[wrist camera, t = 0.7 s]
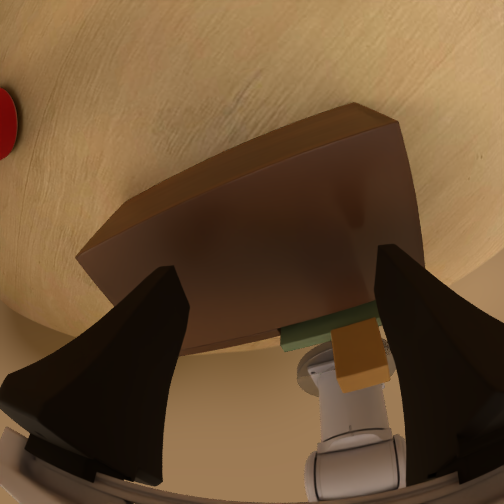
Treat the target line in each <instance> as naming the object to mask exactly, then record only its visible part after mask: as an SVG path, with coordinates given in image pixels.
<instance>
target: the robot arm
mask: <svg viewBox="0 0 504 504" xmlns="http://www.w3.org/2000/svg"><path fill="white" fill-rule="evenodd" d="M374 295H375V300H376V304H377V309H378V313H379V317H380V320H381V323H382V326H383V329H384V332H385V335H386V338H387V341H388V344H389V347H390V350H391V353H392V356H393V359H394V362H395V366H396V369H397V373H398V378H399V384H400V390H401V396H402V404H403V412H404V422H405V436H406V442H405V439H404V438H403V437H401V436H400V435H399V434H396V435H394V436H393V438H392V431H391V428H389V423H388V417H387V411H386V406H385V401H384V395H383V390H382V389H384V387H385V386H384V383H381V384H378V385H374V386H371V387H367V388H363V389H360V390H356V391H352V392H348V393H343V392H342V390H341V388H340V386H339V384H338V381H337V379H336V372H335V363H334V360H332V361H328V362H324V363H320V364H316V365H312V366H309V367H308V368H307V370H308V373H309V374H310V376H311V378H312V379H313V381H314V383H315V384H316V386H317V388H318V390H319V401H320V420H321V421H320V422H321V443H318V444H317V451H314V452H312V453H311V455H310V456H309V457H308V459H307V460H306V464H305V473H304V478H305V489H306V494H307V497H308V502H300V503H254V502H253V503H252V502H238V501H226V500H216V499H208V498H201V497H194V496H188V495H182V494H177V493H171V492H167V491H162V490H157V489H153V488H149V487H145V486H141V485H137V484H134V483H130V482H127V481H124V480H128V481H131V482H134V481H135V482H139V483H143V484H146V485H151V486H157V485H159V484H160V483H162V482H163V478H162V449H163V432H164V422H165V414H166V407H167V400H168V394H169V388H170V384H171V380H172V376H173V373H174V370H175V366H176V363H177V359H178V356H179V353H180V350H181V347H182V343H183V340H184V336H185V333H186V329H187V324H188V318H189V311H190V305H189V302H188V300H187V297H186V295H185V292H184V290H183V287H182V285H181V282H180V280H179V277H178V275H177V272H176V269H175V267H174V265H171V266H160V267H158V268H157V269H155V270H154V271H153V272H152V273H151V274H150V275H148V276H147V277H146V278H145V279H144V280H143V281H142V282H141V283H140V284H139V285H137V286H136V287H135V288H134V289H133V290H132V291H131V292H130V293H129V294H128V295H127V296H126V297H125V298H124V299H123V300H121V301H120V302H119V303H118V304H117V305H116V306H115V307H114V308H112V309H111V310H110V311H109V312H108V313H107V314H106V315H105V316H103V317H102V318H101V319H100V320H99V321H98V322H96V323H95V324H94V325H93V326H91V327H90V328H89V329H87V330H86V331H85V332H84V333H82V334H81V335H79V336H78V337H77V338H75V339H74V340H72V341H71V342H69V343H68V344H66V345H65V346H63V347H62V348H60V349H59V350H57V351H55V352H54V353H52V354H50V355H48V356H47V357H45V358H43V359H41V360H39V361H37V362H35V363H33V364H31V365H29V366H27V367H25V368H22V369H20V370H18V371H15V372H13V373H10V374H8V375H7V377H6V378H5V380H4V381H3V383H2V385H1V387H0V409H1V410H2V411H3V412H4V413H5V414H7V415H8V416H9V417H10V418H11V419H13V420H14V421H15V422H16V423H18V424H19V425H20V426H21V427H23V428H24V429H25V430H27V431H28V432H29V433H30V436H29V438H26V437H25V436H23V435H21V434H20V433H18V432H16V431H14V430H12V429H11V428H9V427H5V430H4V432H3V434H2V437H1V439H0V486H1V487H2V488H3V489H5V490H6V491H7V492H8V493H9V494H10V495H11V496H12V497H13V498H14V499H15V500H16V501H17V502H19V503H20V504H134V503H135V504H504V323H503V322H501V321H499V320H497V319H495V318H494V317H492V316H490V315H488V314H487V313H485V312H483V311H482V310H480V309H479V308H477V307H476V306H474V305H473V304H471V303H470V302H468V301H467V300H465V299H464V298H462V297H461V296H459V295H458V294H456V293H455V292H454V291H453V290H451V289H450V288H449V287H447V286H446V285H445V284H443V283H442V282H441V281H440V280H438V279H437V278H436V277H435V276H433V275H432V274H431V273H430V272H428V271H427V270H426V269H425V268H424V267H422V266H421V265H420V264H419V263H418V262H416V261H415V260H414V259H413V258H412V257H411V256H409V255H408V254H407V253H406V252H404V251H403V250H402V249H401V248H400V247H398V246H397V245H396V244H384V245H378V250H377V262H376V273H375V283H374Z"/></svg>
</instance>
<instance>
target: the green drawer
mask: <svg viewBox="0 0 504 504" xmlns="http://www.w3.org/2000/svg"><path fill="white" fill-rule="evenodd" d="M379 326H382V323H381V320H380V317H379V313H378V309H377V304H376V300H374V301H371V302H368V303H365V304H361V305H358V306H355V307H352V308H349V309H345V310H342V311H339V312H335V313H332V314H329V315H325V316H322V317H318V318H315V319H311V320H307V321H304V322H300V323H296V324H292V325H289V326H285V327H281V339H280V346H281V347H282V349H283V350H284V352H288V351H292V350H296V349H300V348H305V347H308V346H312V345H316V344H320V343H324V342H328V341H331V340H332V347H333V355H334V363H335V372H336V379H337V381H338V384H339V386H340V388H341V390H342V392H343V393H348V392H352V391H356V390H360V389H363V388H367V387H371V386H374V385H378V384H381V383H385V382H388V381H390V372H389V365H388V361H387V357H386V353H385V349H384V346H383V342H382V338H381V335H380V331H379Z"/></svg>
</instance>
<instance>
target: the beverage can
mask: <svg viewBox="0 0 504 504" xmlns="http://www.w3.org/2000/svg"><path fill="white" fill-rule="evenodd" d="M17 128H18V119H17V112H16V108H15V104H14V102H13V100H12V98H11V96H10V95H9V94H8V92H7V91H6V90H4V89H2V88H0V160H2V159H3V158H5V157H7V156H8V155H9V153H10V152H11V150H12V148H13V146H14V144H15V140H16V136H17Z"/></svg>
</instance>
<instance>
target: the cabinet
mask: <svg viewBox="0 0 504 504" xmlns="http://www.w3.org/2000/svg"><path fill="white" fill-rule="evenodd" d="M384 244H396V245H397V246H398V247H400V248H401V249H402V250H403V251H404V252H406V253H407V254H408V255H409V256H411V257H412V258H413V259H414V260H415V261H416V262H418V263H419V264H420V265H421V266H422V267H424V268H425V262H424V251H423V242H422V234H421V226H420V219H419V213H418V207H417V201H416V195H415V190H414V184H413V179H412V175H411V170H410V165H409V161H408V157H407V152H406V148H405V144H404V141H403V137H402V133H401V129H400V126H399V122H398V121H396V120H395V119H392V118H390V117H388V116H386V115H384V114H381V113H379V112H377V111H375V110H372V109H370V108H368V107H365V106H363V105H360V104H358V103H355V102H353V103H350V104H347V105H344V106H341V107H337V108H334V109H331V110H328V111H326V112H323V113H320V114H317V115H314V116H311V117H308V118H306V119H303V120H300V121H297V122H295V123H292V124H290V125H287V126H284V127H282V128H279V129H277V130H274V131H272V132H269V133H267V134H264V135H262V136H259V137H257V138H254V139H252V140H250V141H247V142H245V143H243V144H240V145H238V146H236V147H234V148H231V149H229V150H227V151H225V152H222V153H220V154H218V155H216V156H214V157H211V158H209V159H207V160H205V161H203V162H201V163H199V164H197V165H195V166H193V167H191V168H188V169H186V170H184V171H182V172H180V173H178V174H176V175H174V176H173V177H171V178H169V179H167V180H165V181H163V182H161V183H159V184H157V185H155V186H153V187H152V188H150V189H148V190H146V191H144V192H142V193H140V194H139V195H137V196H135V197H133V198H132V199H130V200H128V201H126V202H125V203H124V204H123V205H122V206H121V207H120V208H119V209H118V210H117V211H116V212H115V213H114V214H113V215H112V216H111V217H110V218H109V219H108V220H107V221H106V222H105V224H104V225H103V226H102V227H101V228H100V229H99V230H98V231H97V232H96V233H95V235H94V236H93V237H92V238H91V239H90V240H89V241H88V242H87V244H86V245H85V246H84V247H83V248H82V249H81V251H80V252H79V253H78V254H77V255H76V257H75V258H76V260H77V261H78V262H79V264H80V265H81V266H82V267H83V269H84V270H85V271H86V273H87V274H88V275H89V276H90V278H91V279H92V280H93V281H94V283H95V284H96V285H97V286H98V288H99V289H100V290H101V291H102V292H103V294H104V295H105V296H106V297H107V298H108V300H109V301H110V302H111V303H112V304H113V305H114V307H115V306H116V305H117V304H118V303H119V302H120V301H121V300H123V299H124V298H125V297H126V296H127V295H128V294H129V293H130V292H131V291H132V290H133V289H134V288H135V287H136V286H137V285H139V284H140V283H141V282H142V281H143V280H144V279H145V278H146V277H147V276H148V275H150V274H151V273H152V272H153V271H154V270H155V269H157V268H158V267H160V266H171V265H174V267H175V269H176V272H177V275H178V277H179V280H180V282H181V285H182V287H183V290H184V292H185V295H186V297H187V300H188V302H189V305H190V311H189V318H188V324H187V329H186V333H185V336H184V340H183V343H182V347H181V350H180V353H179V356H185V355H191V354H196V353H202V352H207V351H212V350H217V349H223V348H227V347H232V346H237V345H242V344H246V343H251V342H255V341H260V340H264V339H268V338H272V337H277V336H280V335H281V327H285V326H289V325H292V324H296V323H300V322H304V321H307V320H311V319H315V318H318V317H322V316H325V315H329V314H332V313H335V312H339V311H342V310H345V309H349V308H352V307H355V306H358V305H361V304H365V303H368V302H371V301H374V300H375V295H374V283H375V273H376V262H377V250H378V245H384ZM179 356H178V357H179Z"/></svg>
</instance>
